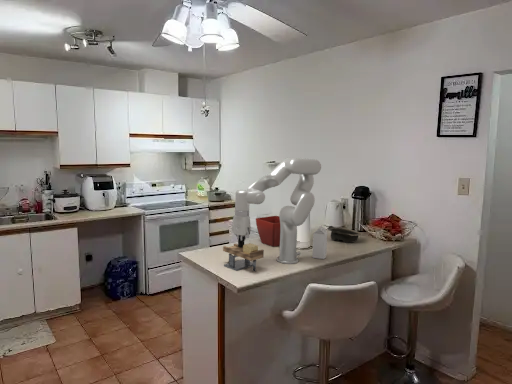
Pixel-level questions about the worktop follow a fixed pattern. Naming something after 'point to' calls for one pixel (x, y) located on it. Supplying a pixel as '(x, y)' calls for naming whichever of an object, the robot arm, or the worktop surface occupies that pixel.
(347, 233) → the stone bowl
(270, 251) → the worktop surface
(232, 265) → the pivot stand
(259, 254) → the board
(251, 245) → the block
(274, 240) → the plant pot
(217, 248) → the worktop surface
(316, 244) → the milk carton
